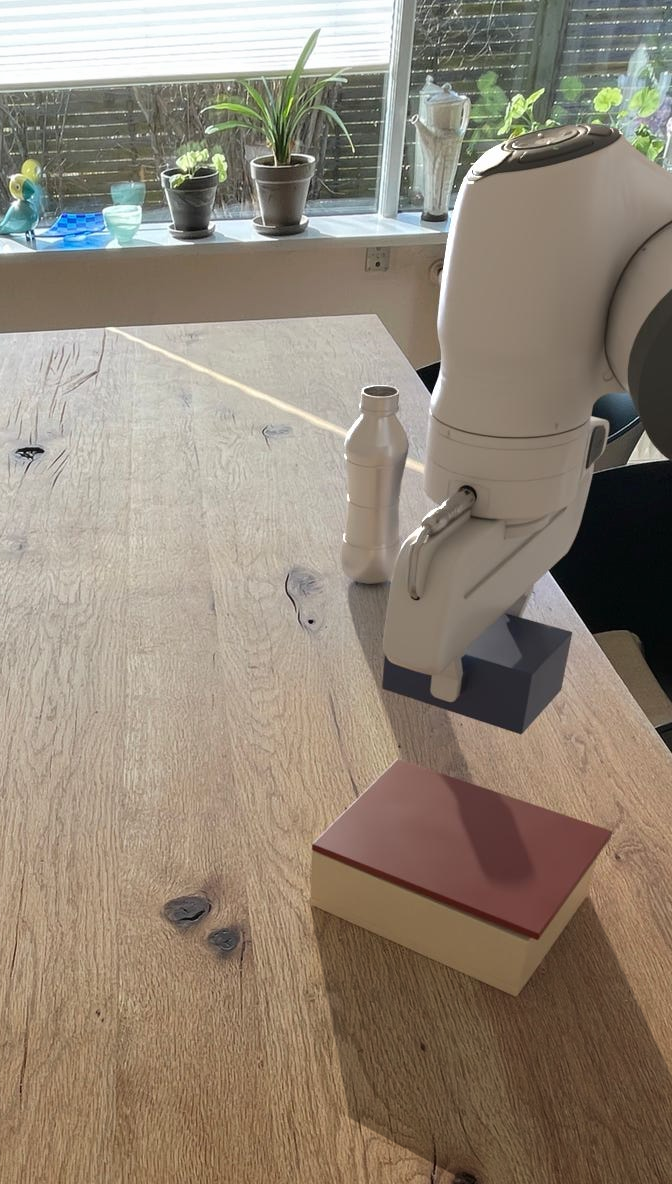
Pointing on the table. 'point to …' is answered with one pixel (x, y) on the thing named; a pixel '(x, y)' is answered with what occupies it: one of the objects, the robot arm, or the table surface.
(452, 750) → the table surface
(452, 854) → the cover
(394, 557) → the plastic bottle
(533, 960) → the beige open box
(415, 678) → the dark grey brick
